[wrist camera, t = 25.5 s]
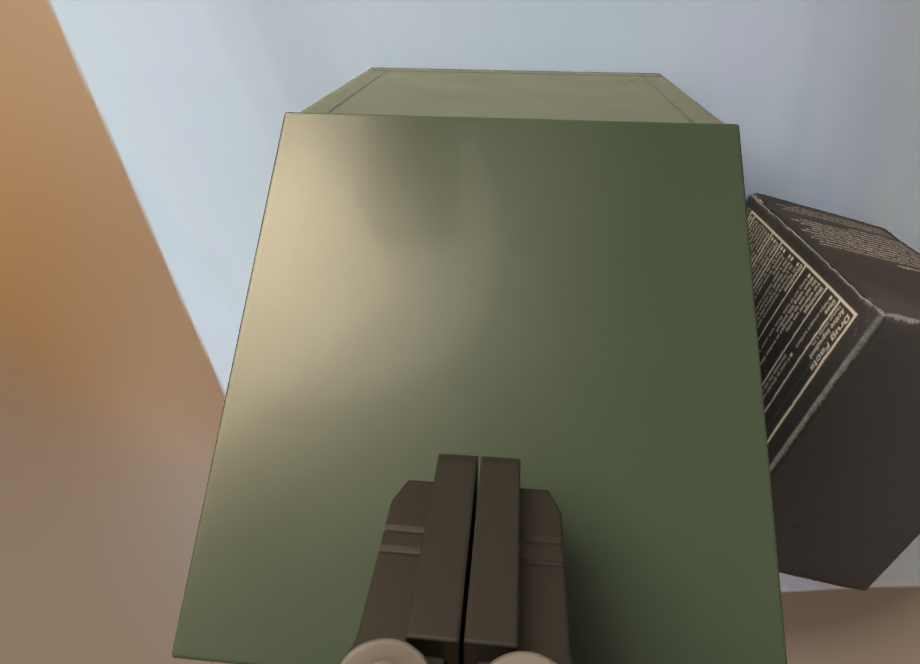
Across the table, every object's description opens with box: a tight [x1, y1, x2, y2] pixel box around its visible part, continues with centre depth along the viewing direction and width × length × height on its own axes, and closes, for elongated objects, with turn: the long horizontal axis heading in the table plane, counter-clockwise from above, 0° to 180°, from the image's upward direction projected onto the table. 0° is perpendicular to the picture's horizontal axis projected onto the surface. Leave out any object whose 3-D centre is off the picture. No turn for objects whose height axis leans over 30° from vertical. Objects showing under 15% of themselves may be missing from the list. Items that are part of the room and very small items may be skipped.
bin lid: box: [172, 112, 787, 664], centre depth 13 cm, size 12×11×1 cm
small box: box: [746, 193, 920, 591], centre depth 23 cm, size 11×6×10 cm, turn 166°
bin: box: [300, 68, 724, 124], centre depth 22 cm, size 12×11×9 cm
